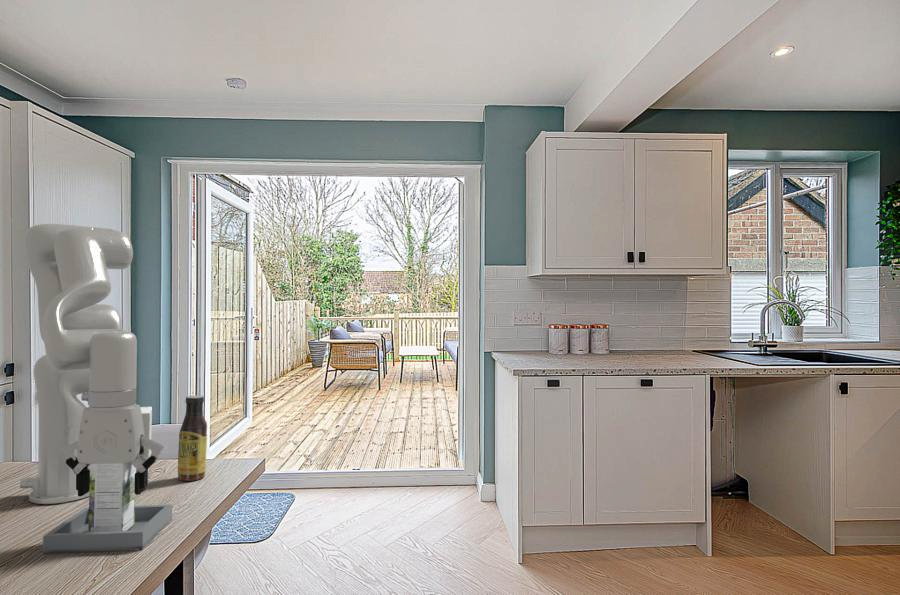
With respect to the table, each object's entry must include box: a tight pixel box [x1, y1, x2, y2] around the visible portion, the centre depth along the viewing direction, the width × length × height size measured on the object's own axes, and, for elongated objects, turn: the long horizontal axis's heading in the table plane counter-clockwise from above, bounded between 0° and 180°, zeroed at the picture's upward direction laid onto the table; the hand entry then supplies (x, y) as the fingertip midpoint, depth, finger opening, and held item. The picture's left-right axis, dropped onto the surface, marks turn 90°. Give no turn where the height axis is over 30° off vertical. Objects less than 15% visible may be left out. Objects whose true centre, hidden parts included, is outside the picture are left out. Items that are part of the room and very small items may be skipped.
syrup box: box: [88, 463, 136, 532], centre depth 107 cm, size 6×6×14 cm
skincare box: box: [136, 406, 153, 474], centre depth 148 cm, size 8×7×16 cm
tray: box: [42, 504, 173, 555], centre depth 107 cm, size 16×14×3 cm
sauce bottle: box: [177, 394, 208, 482], centre depth 142 cm, size 6×6×20 cm
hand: (112, 493), depth 107 cm, fingers open, 9 cm apart
